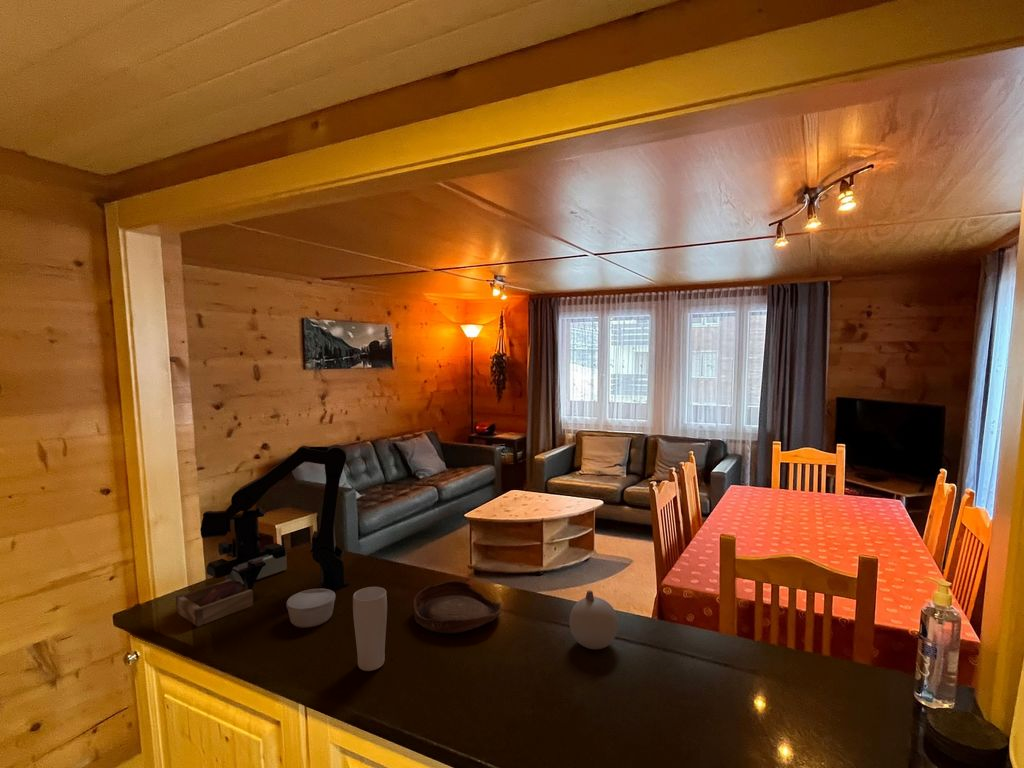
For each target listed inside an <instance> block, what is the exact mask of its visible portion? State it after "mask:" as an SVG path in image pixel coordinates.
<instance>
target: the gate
mask: <svg viewBox="0 0 1024 768" xmlns="http://www.w3.org/2000/svg"><path fill="white" fill-rule="evenodd" d="M263 562H265V563H266V565H265V566H263V567H262V569H261V571H260V573H259V575H258V576H257V579H256V581H257V580H260V579H263V578H265V577H268V576H272V575H274V574H277V573H279V572H283V571H286V570H287V569H288V568H287V566H288V565H287V562H288V561H287V555H286V556H284V557H281V558H278V559H275V558H274V557H272V555H271V556H268V557H265V558H263ZM228 579H231V580H232V581H233V580H236V581H238V582H240V583H242V584H243V585H244V583H243V581H242V578H241V577H240V575H239V574H238V573H237V572H235V571H233V570H232V572H231V573H230V574H229V575H226V576H224V581H225V580H228Z"/></svg>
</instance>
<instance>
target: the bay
mask: <svg viewBox="0 0 1024 768" xmlns="http://www.w3.org/2000/svg"><path fill="white" fill-rule="evenodd" d="M225 582H232V580H231V579H228V580H225V579H224V580H223V581H220V582H217V583H213V584H210V585H208V586H204V587H202V588H201V587H200V588H197V589H196V590H193V591H189V592H186V593H183V594H180V595H177V596H175V609H176V611H175V612H176V613H177V614H178V615H179V616H180V617H183V618H184V619H185V620H187V621H188V622H190V623H192V624H193V625H195V627H200V626H203V624H204V625H206V624H208V623H211V622H213V621H217V620H218V619H222V618H223V617H227V616H230V615H232V614H235V613H237V612H240V611H242V610H245V609H247V608H249V607H250V608H251V607H253V606H254V590H253V589H252V590H251V589H249V590H247V589H246V590H244V591H240V592H239V593H238V594H235V595H233V596H230V597H227V598H224V597H225V596H224V597H223V598H222V599H221V600H219V601H216V602H213V603H210V604H207V605H205V606H202V607H200V606H199V603H200V602H201V601H202V600H203V599H204V598H205V597H206V596H207V595H208V594H209V593H210V592H211V591H212V590H213V589H216V588H217V587H218V586H219V585H221V584H222V583H225Z"/></svg>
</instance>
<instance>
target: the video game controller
mask: <svg viewBox="0 0 1024 768" xmlns="http://www.w3.org/2000/svg"><path fill="white" fill-rule="evenodd" d="M243 588H244V584H242V583H240V582H238V581H236V580H233V581H232V582H225V583H222V584H221V585H219V586H218V587H217V588H216V589H213V590H212V591H211V592H210V593H209V594H208V595H207V596H206V597H205V598H204V599H203V600H202V601H201V602H200V603H199V606H200V607H202V606H205V605H207V604H210V603H213V602H216V601H219V600H221V599H224V598H227V597H230V596H233V595H235V594H238V593H241V592H242V590H243ZM224 596H225V597H224ZM223 597H224V598H223Z"/></svg>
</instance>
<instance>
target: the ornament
mask: <svg viewBox="0 0 1024 768" xmlns="http://www.w3.org/2000/svg"><path fill="white" fill-rule="evenodd" d="M568 622H569V623H568V624H569V629H570V632H571V634H572V636H573V638H574V639H575V641H576V642H577V643H578V644H579V645H581V646H582V647H585V648H587V649H589V650H602V649H605V648H607V647H608V646H610V644H611V643H612V642H613V641H614V640H615V638H616V637H617V633H618V629H619V620H618V615H617V612H616V610H615V609H614V607H613V606H612V605H611V603H610V602H608V601H606V600H605V599H604V598H601V597H597V596H594V592H593V591H592V590H591V589H589V590H587V591H586V594H585V597H584V598H581V599H580V600H577V602H576V603H575V604H574V606H573V607H572V608H571V611H570V615H569V621H568Z"/></svg>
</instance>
